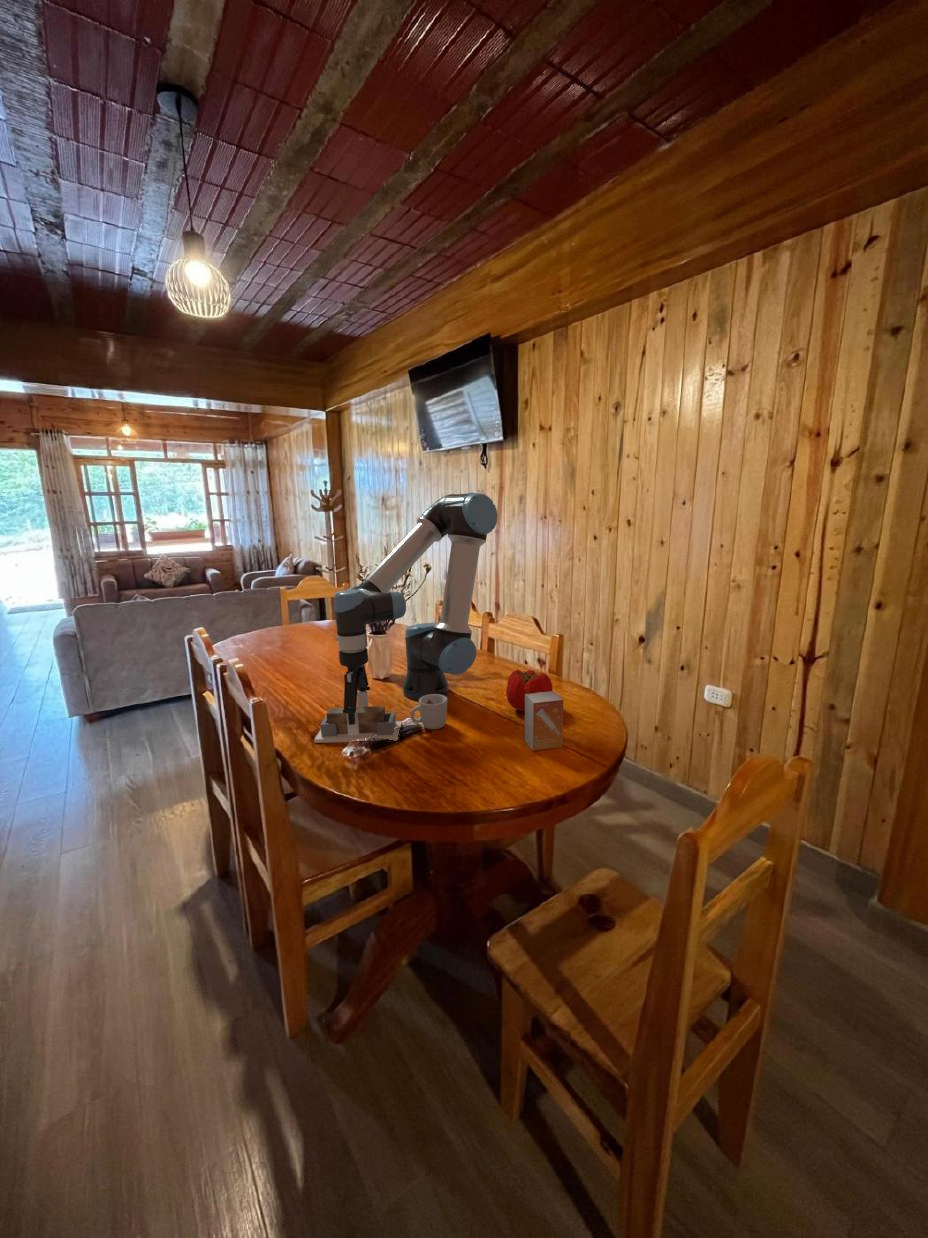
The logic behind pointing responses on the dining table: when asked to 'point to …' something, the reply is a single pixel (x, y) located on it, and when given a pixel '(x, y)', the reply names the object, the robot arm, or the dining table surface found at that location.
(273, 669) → the dining table surface
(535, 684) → the tomato
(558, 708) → the small box
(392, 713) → the board
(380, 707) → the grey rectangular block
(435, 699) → the cup
